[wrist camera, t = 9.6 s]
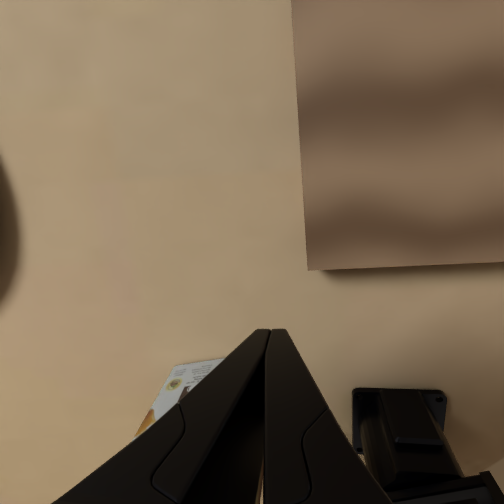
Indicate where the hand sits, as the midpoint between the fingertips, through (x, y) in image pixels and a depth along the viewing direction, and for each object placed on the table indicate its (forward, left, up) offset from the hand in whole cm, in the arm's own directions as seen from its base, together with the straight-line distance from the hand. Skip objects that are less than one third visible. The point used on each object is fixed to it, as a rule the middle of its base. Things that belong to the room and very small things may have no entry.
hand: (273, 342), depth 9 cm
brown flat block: (+6, -7, -12) cm, 15 cm away
